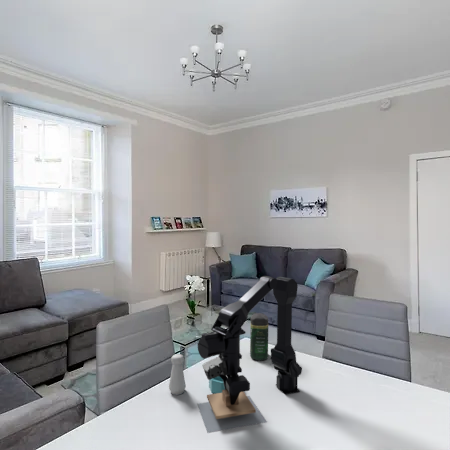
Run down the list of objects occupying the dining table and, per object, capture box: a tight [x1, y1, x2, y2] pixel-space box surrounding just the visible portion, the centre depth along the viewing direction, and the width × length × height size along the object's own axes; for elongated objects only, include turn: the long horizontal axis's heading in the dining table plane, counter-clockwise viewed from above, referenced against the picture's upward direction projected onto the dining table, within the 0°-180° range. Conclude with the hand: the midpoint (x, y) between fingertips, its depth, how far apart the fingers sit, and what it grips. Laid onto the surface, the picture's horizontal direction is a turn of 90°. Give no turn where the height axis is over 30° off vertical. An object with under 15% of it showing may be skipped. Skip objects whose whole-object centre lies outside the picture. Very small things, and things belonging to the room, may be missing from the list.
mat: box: [196, 395, 268, 434], centre depth 101 cm, size 18×15×1 cm
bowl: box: [208, 376, 225, 394], centre depth 116 cm, size 10×10×5 cm
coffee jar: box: [249, 312, 269, 361], centre depth 144 cm, size 10×8×19 cm
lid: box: [206, 389, 256, 419], centre depth 100 cm, size 12×12×4 cm
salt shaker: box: [168, 353, 187, 396], centre depth 113 cm, size 6×6×13 cm
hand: (230, 400), depth 100 cm, fingers closed on lid, 4 cm apart
